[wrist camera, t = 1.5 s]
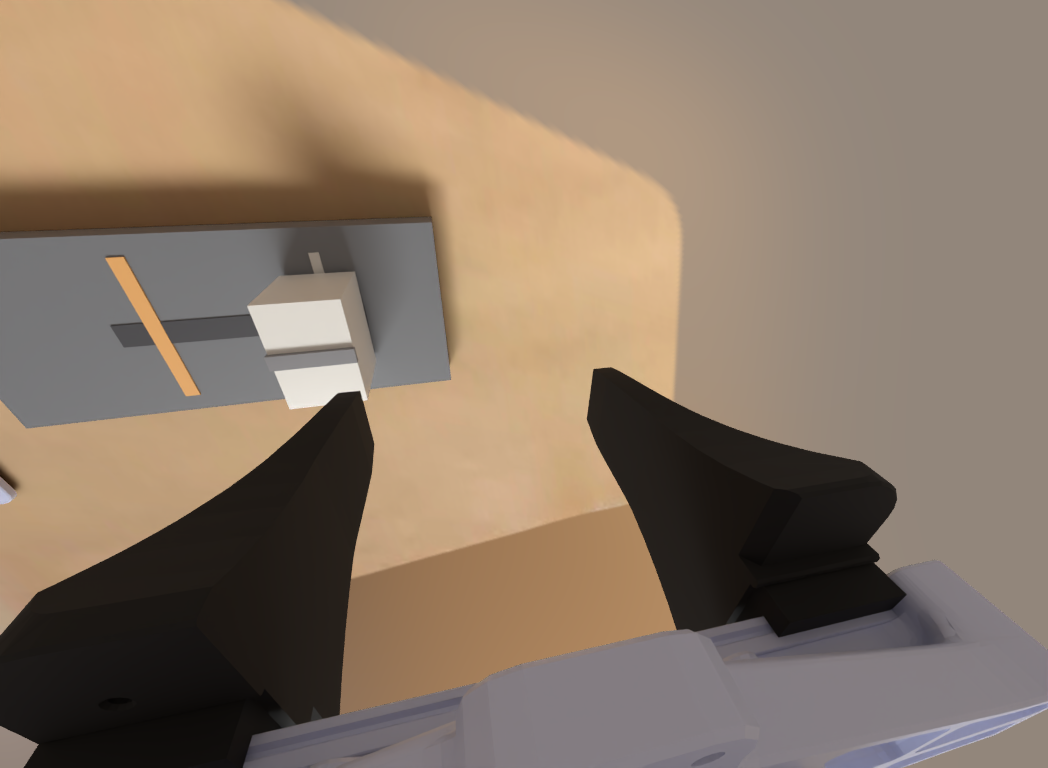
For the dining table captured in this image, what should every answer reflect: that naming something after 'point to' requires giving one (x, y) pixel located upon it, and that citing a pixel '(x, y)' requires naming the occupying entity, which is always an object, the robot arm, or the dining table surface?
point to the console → (196, 312)
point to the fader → (315, 336)
